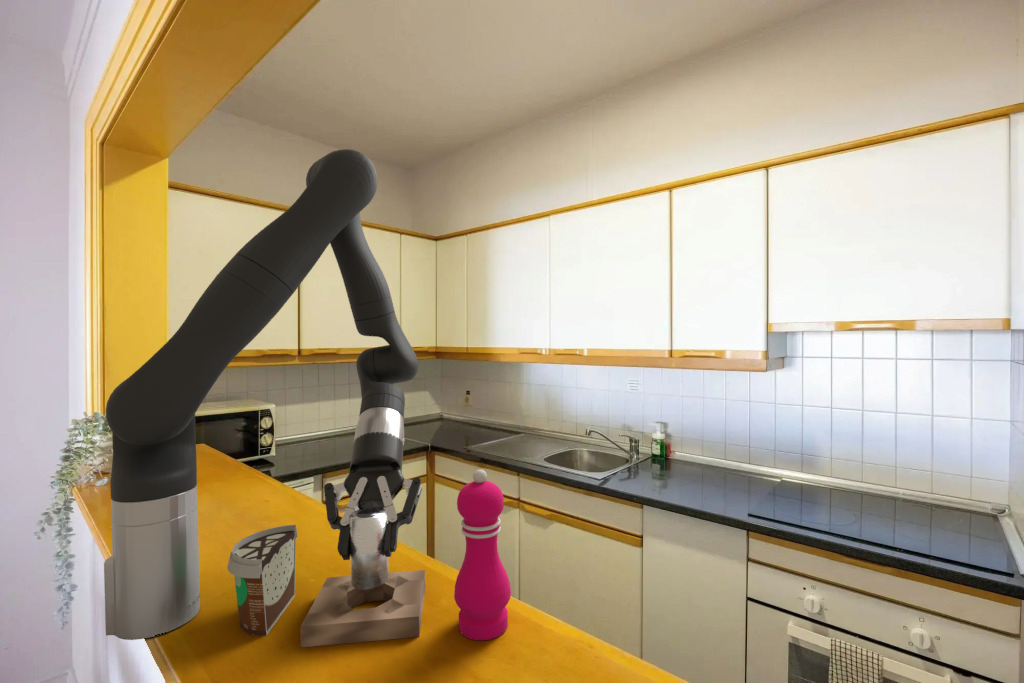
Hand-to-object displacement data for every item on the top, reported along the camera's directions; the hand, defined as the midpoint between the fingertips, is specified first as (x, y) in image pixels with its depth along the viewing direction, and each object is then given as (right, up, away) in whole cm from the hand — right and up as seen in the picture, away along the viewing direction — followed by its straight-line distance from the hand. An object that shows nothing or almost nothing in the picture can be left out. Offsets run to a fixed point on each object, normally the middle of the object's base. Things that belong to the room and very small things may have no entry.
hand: (366, 555), depth 62 cm
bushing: (0, -4, +2) cm, 5 cm away
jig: (0, -9, +2) cm, 9 cm away
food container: (-15, -9, +2) cm, 18 cm away
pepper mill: (+15, -9, -1) cm, 18 cm away
